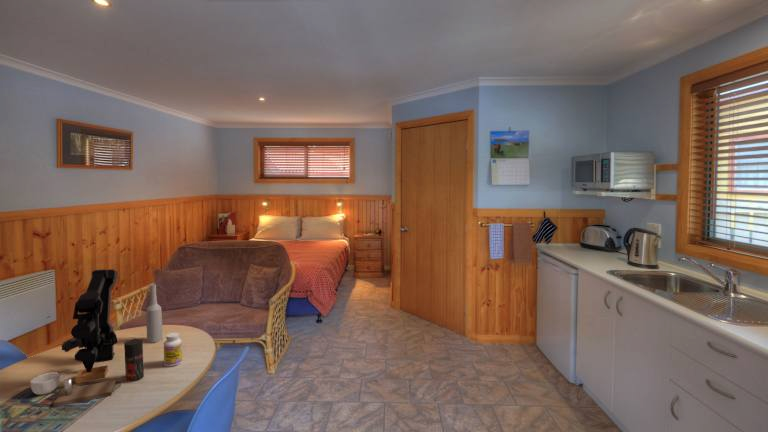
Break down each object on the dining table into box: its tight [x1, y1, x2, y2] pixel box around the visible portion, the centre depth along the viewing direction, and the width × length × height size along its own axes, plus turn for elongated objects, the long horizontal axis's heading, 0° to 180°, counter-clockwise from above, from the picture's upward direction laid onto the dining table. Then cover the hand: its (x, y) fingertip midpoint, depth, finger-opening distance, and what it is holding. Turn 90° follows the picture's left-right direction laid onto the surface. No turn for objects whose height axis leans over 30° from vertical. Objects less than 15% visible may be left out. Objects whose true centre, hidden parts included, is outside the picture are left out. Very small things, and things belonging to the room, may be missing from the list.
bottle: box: [145, 283, 164, 344], centre depth 178 cm, size 7×7×28 cm
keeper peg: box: [63, 377, 73, 396], centre depth 130 cm, size 2×2×6 cm
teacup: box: [29, 371, 66, 396], centre depth 135 cm, size 10×8×5 cm
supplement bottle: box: [163, 332, 183, 368], centre depth 157 cm, size 7×7×13 cm
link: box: [75, 365, 109, 384], centre depth 145 cm, size 9×6×2 cm, turn 118°
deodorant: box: [123, 338, 145, 383], centre depth 144 cm, size 6×6×15 cm
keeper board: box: [53, 379, 117, 408], centre depth 133 cm, size 16×9×2 cm, turn 118°
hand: (91, 366), depth 145 cm, fingers open, 9 cm apart
